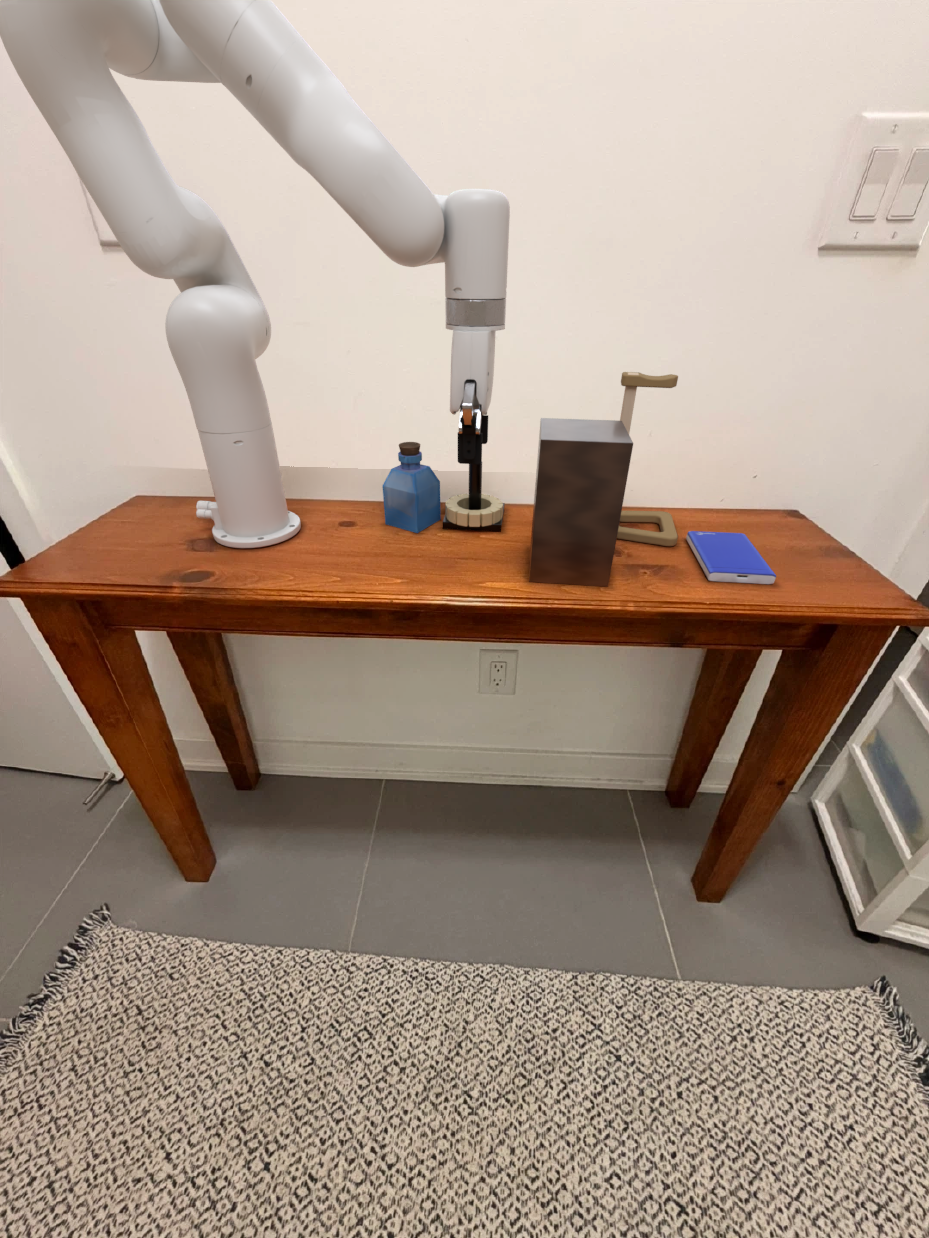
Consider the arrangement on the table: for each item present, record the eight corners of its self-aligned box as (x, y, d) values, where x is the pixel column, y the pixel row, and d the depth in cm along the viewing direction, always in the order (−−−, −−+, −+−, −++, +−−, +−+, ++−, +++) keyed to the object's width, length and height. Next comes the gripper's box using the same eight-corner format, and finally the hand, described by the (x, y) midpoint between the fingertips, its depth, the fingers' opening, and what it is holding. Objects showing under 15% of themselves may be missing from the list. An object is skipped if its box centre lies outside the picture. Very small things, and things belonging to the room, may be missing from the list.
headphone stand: (677, 547, 78) (717, 384, 66) (599, 541, 80) (624, 380, 68) (669, 519, 87) (703, 370, 75) (599, 514, 88) (621, 367, 76)
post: (442, 529, 83) (441, 470, 78) (450, 507, 91) (450, 451, 86) (501, 532, 82) (503, 472, 77) (504, 509, 90) (507, 454, 85)
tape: (439, 524, 82) (439, 511, 81) (453, 502, 89) (453, 491, 88) (496, 529, 80) (497, 517, 79) (506, 507, 87) (507, 495, 86)
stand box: (528, 582, 70) (540, 439, 60) (530, 548, 78) (540, 417, 68) (608, 587, 69) (633, 443, 59) (601, 551, 77) (622, 420, 67)
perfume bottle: (440, 519, 86) (439, 443, 80) (417, 533, 82) (413, 453, 75) (409, 511, 89) (405, 436, 82) (385, 524, 85) (379, 446, 78)
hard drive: (687, 530, 79) (710, 570, 69) (745, 533, 79) (777, 574, 68) (685, 540, 80) (707, 581, 70) (742, 542, 80) (773, 584, 69)
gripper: (454, 310, 75) (455, 435, 85) (434, 321, 61) (437, 471, 70) (508, 310, 75) (503, 437, 84) (501, 322, 60) (495, 473, 70)
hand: (473, 452), depth 77 cm, fingers open, 9 cm apart
